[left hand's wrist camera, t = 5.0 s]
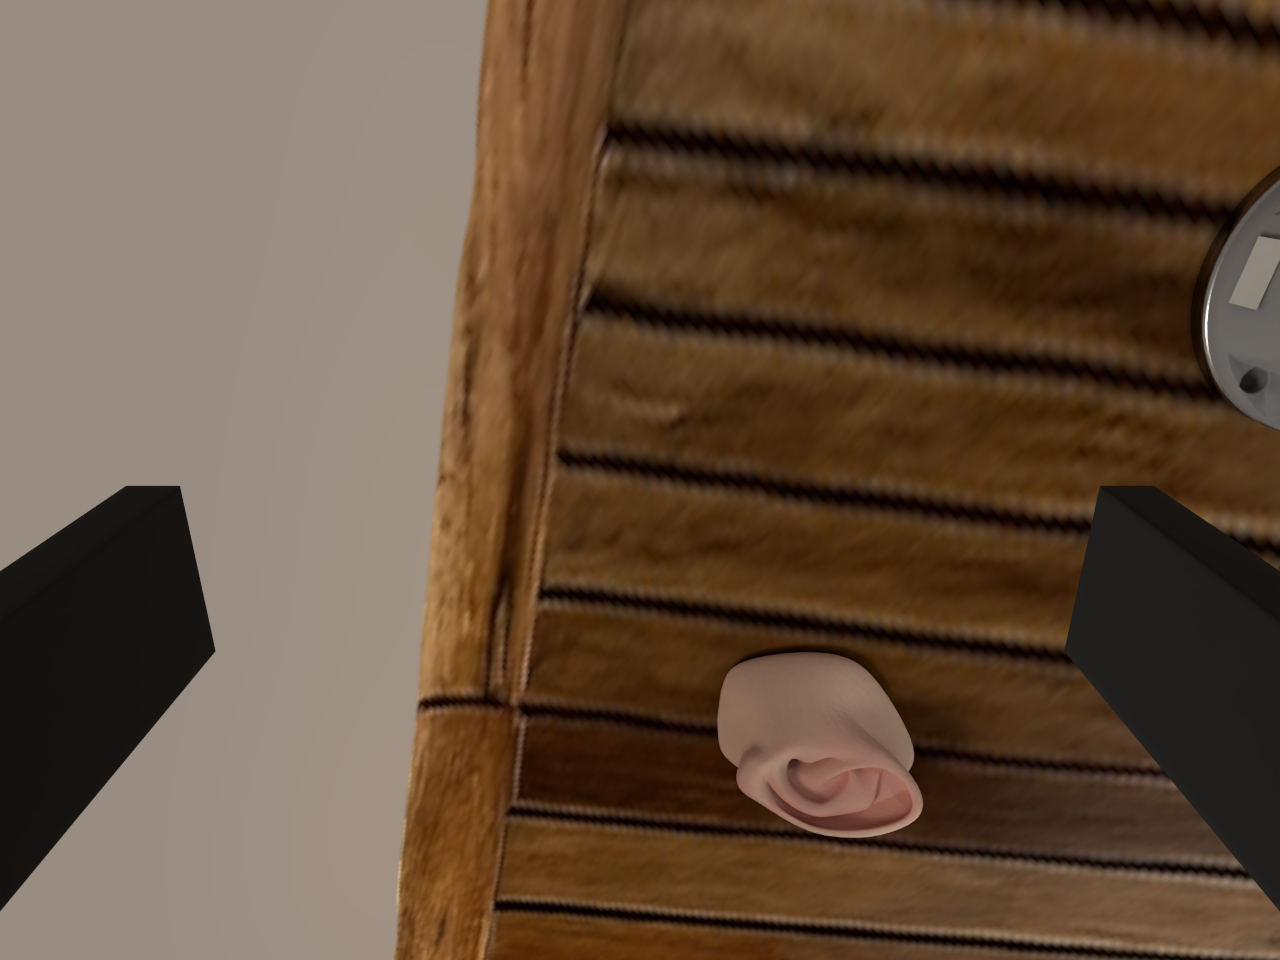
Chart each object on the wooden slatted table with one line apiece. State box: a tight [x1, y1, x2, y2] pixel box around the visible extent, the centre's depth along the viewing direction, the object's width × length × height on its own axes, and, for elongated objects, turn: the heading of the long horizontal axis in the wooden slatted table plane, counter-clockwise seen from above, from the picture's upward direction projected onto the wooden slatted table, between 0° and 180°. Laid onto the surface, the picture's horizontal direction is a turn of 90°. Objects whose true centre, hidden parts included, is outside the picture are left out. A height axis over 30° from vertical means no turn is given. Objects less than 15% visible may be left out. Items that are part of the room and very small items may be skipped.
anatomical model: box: [717, 652, 923, 837], centre depth 53 cm, size 13×4×12 cm
